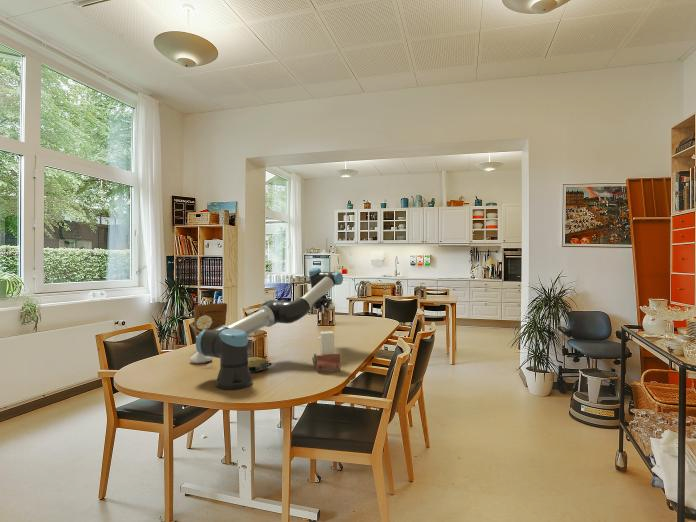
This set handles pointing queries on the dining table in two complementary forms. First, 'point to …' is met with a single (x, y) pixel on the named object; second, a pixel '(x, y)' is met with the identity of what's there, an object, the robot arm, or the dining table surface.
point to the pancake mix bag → (211, 315)
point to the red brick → (327, 362)
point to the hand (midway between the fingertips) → (323, 311)
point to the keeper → (326, 342)
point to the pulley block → (257, 364)
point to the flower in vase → (202, 324)
